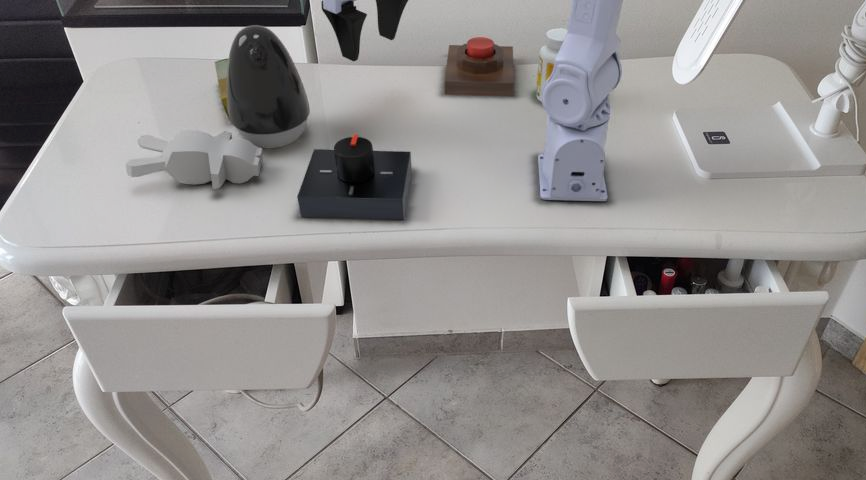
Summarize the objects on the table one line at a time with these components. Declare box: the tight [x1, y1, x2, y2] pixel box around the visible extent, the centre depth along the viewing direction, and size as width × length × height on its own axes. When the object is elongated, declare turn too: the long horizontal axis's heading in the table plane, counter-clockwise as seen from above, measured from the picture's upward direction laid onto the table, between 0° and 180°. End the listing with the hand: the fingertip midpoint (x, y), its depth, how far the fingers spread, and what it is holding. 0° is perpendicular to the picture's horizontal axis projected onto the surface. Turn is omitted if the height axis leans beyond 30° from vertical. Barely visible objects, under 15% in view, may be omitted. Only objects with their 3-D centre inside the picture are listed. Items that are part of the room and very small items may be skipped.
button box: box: [444, 43, 515, 97], centre depth 108 cm, size 12×10×4 cm
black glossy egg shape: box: [227, 24, 311, 149], centre depth 90 cm, size 10×10×15 cm
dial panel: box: [296, 148, 413, 221], centre depth 85 cm, size 10×12×3 cm
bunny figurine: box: [125, 129, 264, 190], centre depth 87 cm, size 10×5×15 cm
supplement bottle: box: [535, 27, 568, 103], centre depth 101 cm, size 5×5×10 cm
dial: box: [333, 133, 375, 183], centre depth 83 cm, size 4×4×4 cm
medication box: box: [214, 57, 231, 123], centre depth 101 cm, size 12×3×4 cm, turn 19°
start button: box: [466, 36, 495, 59], centre depth 106 cm, size 4×4×2 cm
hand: (368, 47), depth 93 cm, fingers open, 7 cm apart
